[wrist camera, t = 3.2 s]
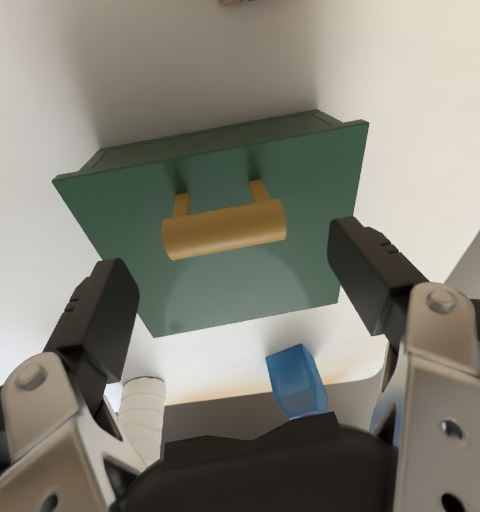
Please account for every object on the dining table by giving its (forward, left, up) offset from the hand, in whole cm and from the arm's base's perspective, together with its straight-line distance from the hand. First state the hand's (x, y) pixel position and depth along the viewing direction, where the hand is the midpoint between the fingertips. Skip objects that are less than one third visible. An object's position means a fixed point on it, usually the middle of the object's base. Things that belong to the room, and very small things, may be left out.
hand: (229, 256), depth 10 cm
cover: (+4, -1, -6) cm, 8 cm away
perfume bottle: (+34, -3, -13) cm, 37 cm away
